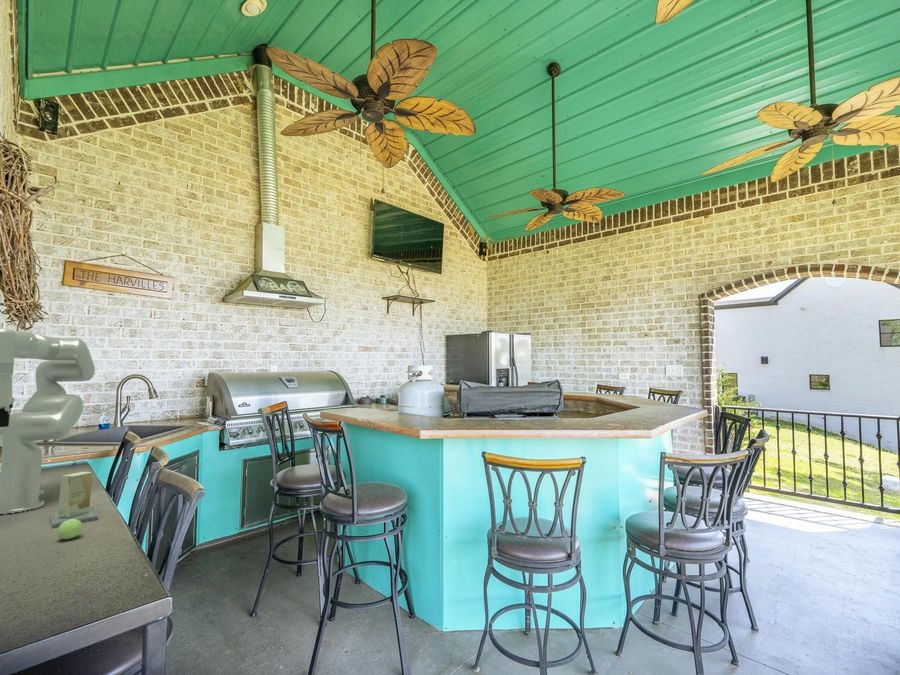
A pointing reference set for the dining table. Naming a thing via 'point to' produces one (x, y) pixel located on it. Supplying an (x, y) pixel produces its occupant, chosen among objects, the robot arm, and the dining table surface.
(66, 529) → the lime
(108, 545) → the dining table surface
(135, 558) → the dining table surface
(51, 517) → the metal tray
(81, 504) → the skincare box
